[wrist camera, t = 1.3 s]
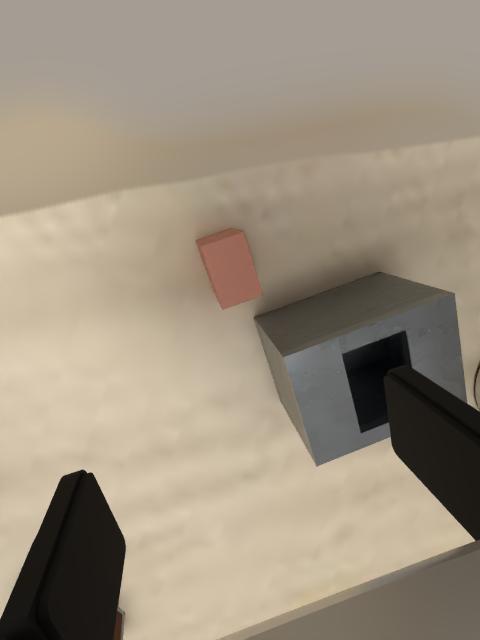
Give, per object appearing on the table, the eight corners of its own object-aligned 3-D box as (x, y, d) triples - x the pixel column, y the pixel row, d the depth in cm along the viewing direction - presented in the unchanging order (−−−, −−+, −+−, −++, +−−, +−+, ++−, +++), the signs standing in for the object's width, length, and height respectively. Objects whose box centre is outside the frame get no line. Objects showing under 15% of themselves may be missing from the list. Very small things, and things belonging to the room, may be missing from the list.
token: (231, 228, 28) (243, 231, 23) (247, 280, 30) (263, 294, 25) (195, 240, 28) (200, 246, 23) (214, 292, 30) (222, 309, 24)
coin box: (379, 271, 32) (454, 293, 23) (395, 358, 34) (467, 405, 26) (253, 317, 31) (283, 357, 22) (281, 402, 34) (316, 466, 25)
